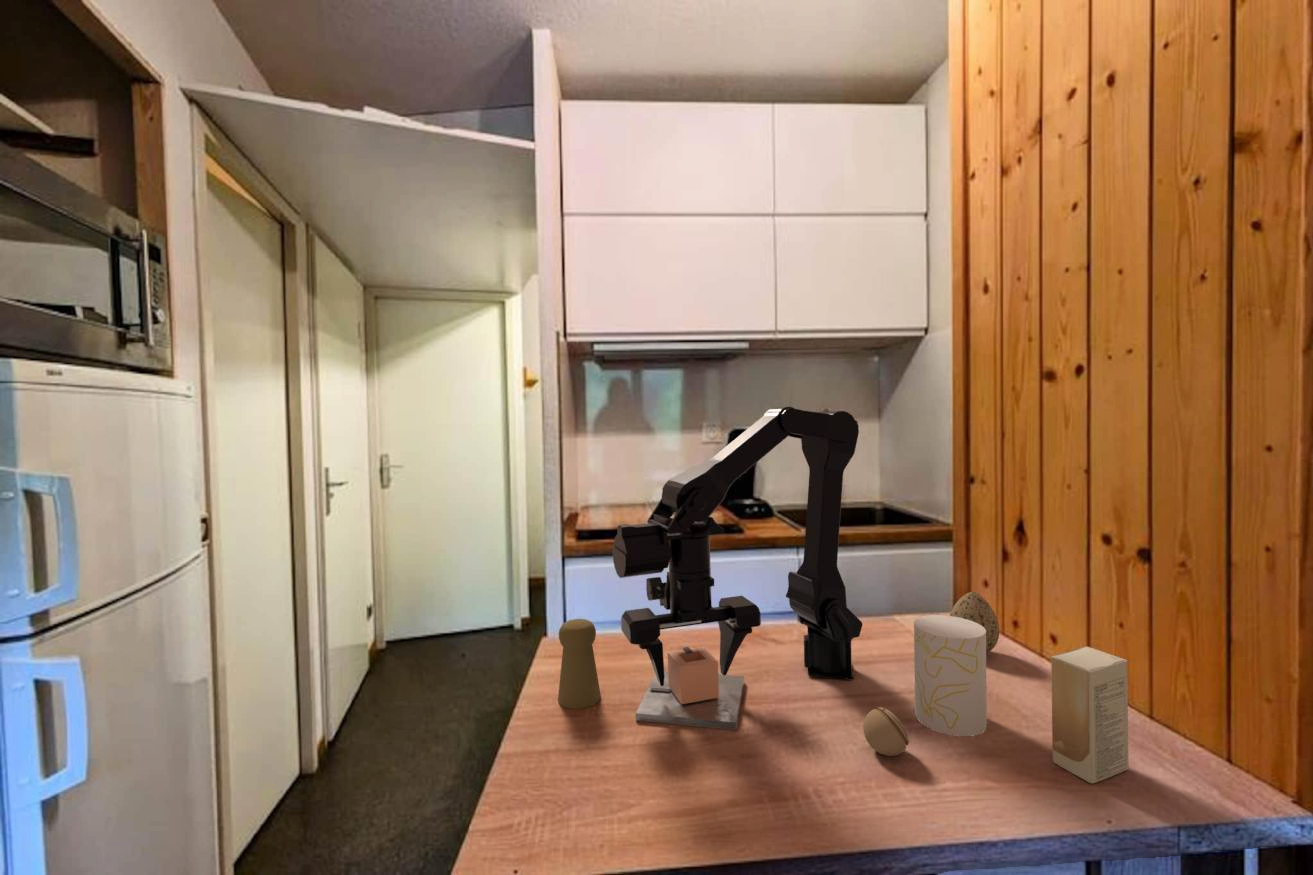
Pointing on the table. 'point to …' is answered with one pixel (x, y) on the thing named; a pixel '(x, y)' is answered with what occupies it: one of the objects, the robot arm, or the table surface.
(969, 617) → the decorative egg
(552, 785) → the table surface
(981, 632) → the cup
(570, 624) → the cork
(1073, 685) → the skincare box
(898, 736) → the beige rounded piece
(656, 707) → the grey square base plate
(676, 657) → the hollow block with latch
